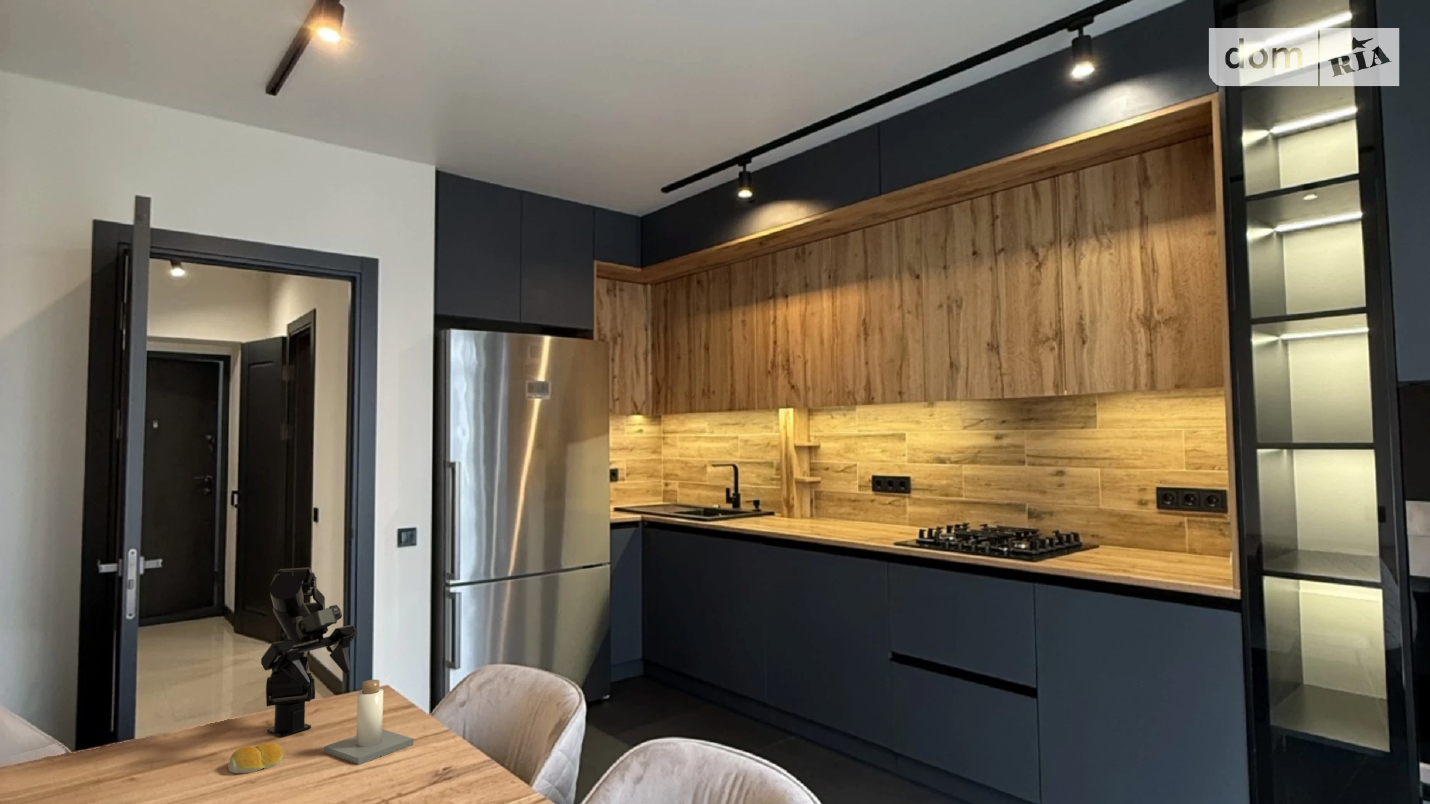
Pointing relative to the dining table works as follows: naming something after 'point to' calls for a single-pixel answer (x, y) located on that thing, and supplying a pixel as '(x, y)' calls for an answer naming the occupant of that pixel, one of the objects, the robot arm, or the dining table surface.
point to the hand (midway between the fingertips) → (329, 678)
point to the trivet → (368, 747)
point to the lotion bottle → (369, 714)
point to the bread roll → (255, 758)
